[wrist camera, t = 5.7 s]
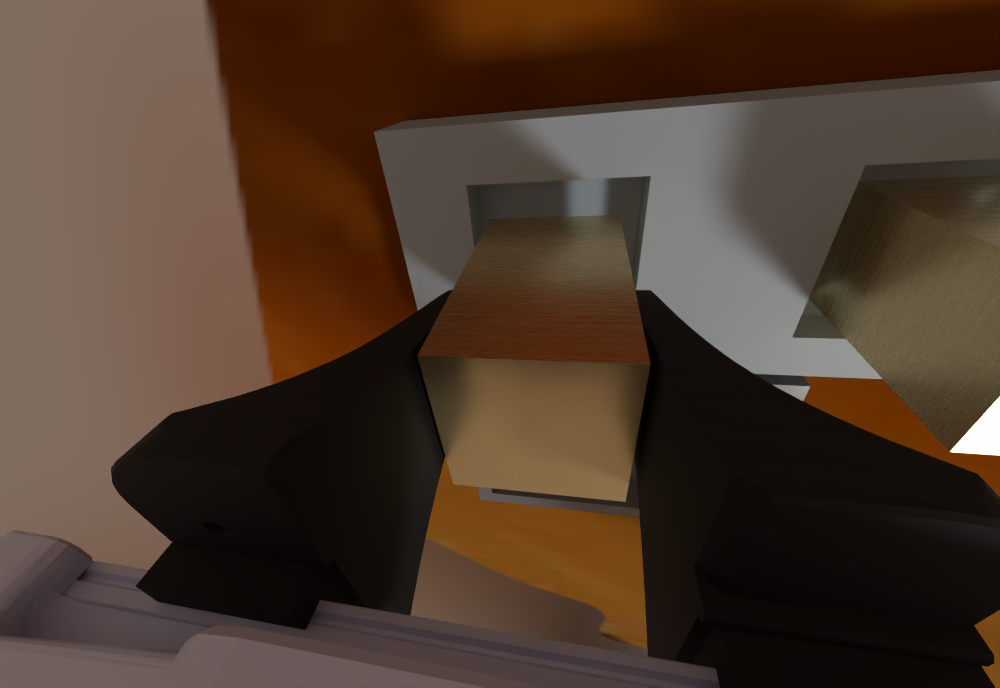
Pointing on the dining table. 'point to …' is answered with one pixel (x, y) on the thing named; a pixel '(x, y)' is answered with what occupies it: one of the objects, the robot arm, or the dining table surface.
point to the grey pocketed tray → (696, 193)
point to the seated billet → (924, 298)
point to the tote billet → (541, 360)
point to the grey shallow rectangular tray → (787, 383)
